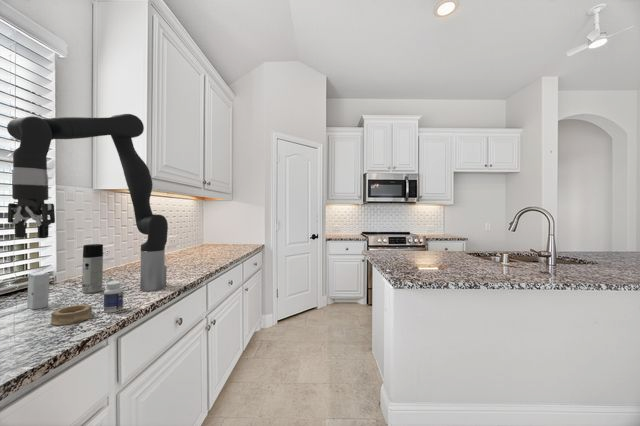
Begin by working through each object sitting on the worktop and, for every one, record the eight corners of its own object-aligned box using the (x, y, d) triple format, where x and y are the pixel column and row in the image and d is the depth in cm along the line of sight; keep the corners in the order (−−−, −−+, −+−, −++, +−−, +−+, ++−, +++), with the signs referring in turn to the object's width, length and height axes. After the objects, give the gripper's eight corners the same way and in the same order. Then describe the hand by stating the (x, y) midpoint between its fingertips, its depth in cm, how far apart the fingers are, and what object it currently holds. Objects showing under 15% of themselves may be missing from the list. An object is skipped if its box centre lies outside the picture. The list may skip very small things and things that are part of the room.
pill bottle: (121, 311, 95) (121, 283, 95) (102, 314, 93) (102, 285, 93) (124, 306, 100) (124, 280, 100) (105, 309, 98) (106, 281, 98)
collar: (80, 311, 95) (80, 302, 95) (99, 315, 91) (99, 306, 91) (43, 322, 86) (43, 312, 86) (62, 327, 82) (62, 317, 82)
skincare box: (26, 306, 99) (26, 273, 98) (43, 303, 102) (43, 270, 102) (32, 310, 96) (32, 275, 95) (49, 306, 99) (50, 272, 99)
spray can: (85, 290, 119) (85, 244, 119) (104, 288, 122) (105, 243, 122) (79, 294, 113) (80, 246, 113) (100, 292, 116) (100, 245, 116)
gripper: (63, 185, 86) (64, 237, 86) (27, 185, 88) (27, 235, 88) (35, 183, 78) (35, 239, 79) (-5, 183, 81) (-4, 238, 81)
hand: (31, 237), depth 84 cm, fingers open, 8 cm apart
